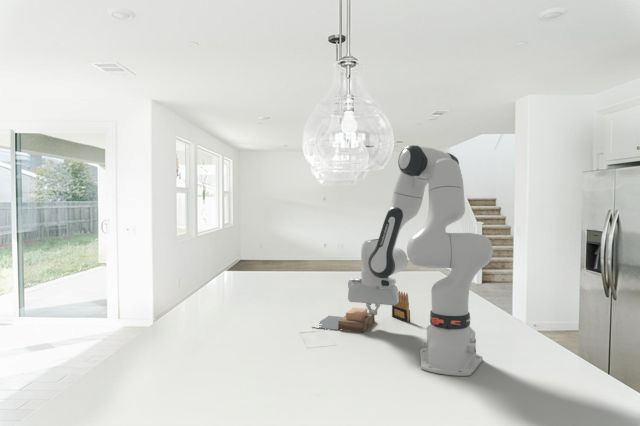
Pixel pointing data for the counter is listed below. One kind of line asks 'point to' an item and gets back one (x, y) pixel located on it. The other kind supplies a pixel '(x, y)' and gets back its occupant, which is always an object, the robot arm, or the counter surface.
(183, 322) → the counter surface
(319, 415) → the counter surface
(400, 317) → the ammunition clip
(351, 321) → the deck
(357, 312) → the tile
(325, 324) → the mat
